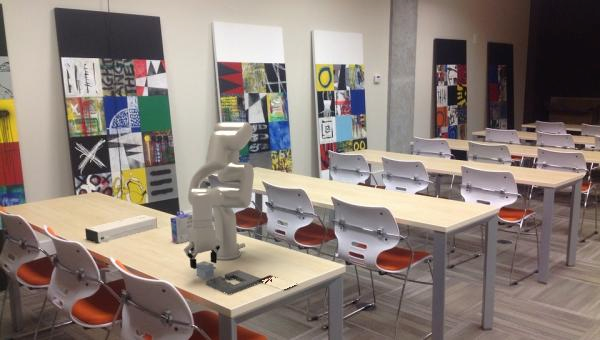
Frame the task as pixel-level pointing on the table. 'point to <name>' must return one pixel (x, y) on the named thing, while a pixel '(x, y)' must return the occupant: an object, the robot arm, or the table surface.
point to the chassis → (230, 288)
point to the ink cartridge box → (181, 227)
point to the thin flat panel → (271, 281)
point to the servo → (205, 269)
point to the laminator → (121, 228)
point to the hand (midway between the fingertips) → (203, 265)
